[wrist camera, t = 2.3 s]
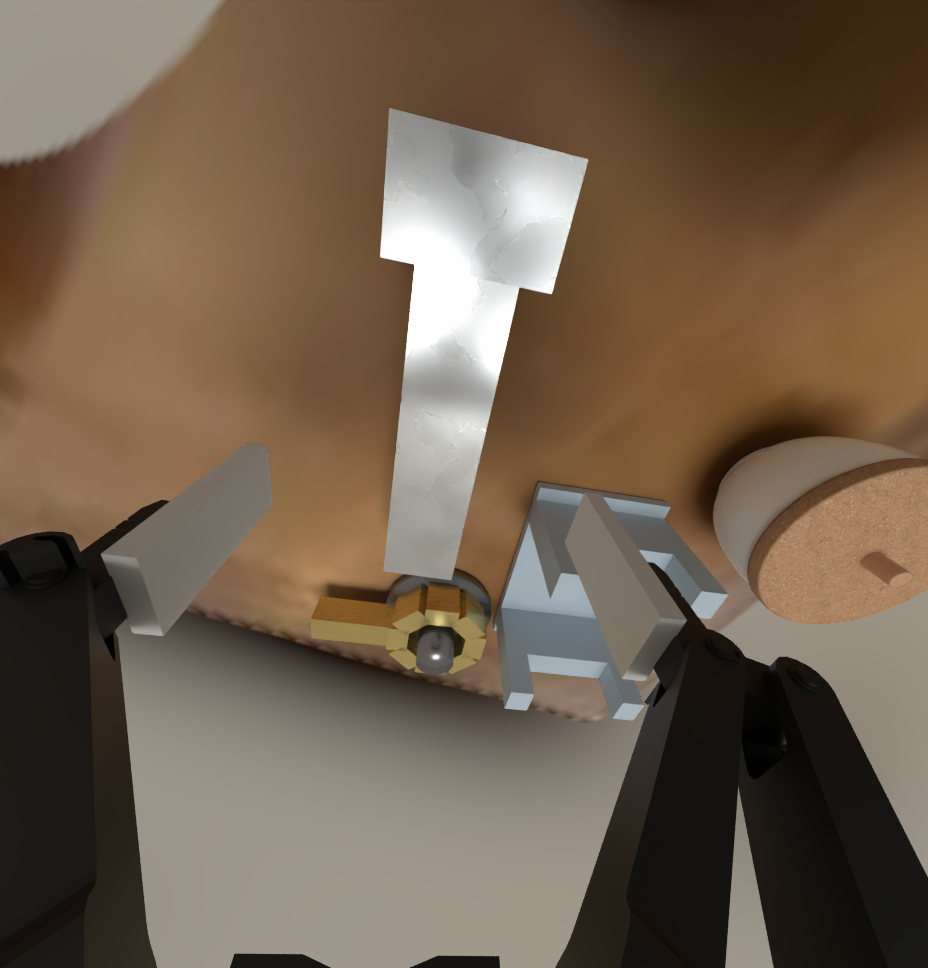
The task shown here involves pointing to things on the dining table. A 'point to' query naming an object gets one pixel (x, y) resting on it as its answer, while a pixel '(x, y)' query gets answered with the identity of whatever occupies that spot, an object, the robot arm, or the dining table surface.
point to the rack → (582, 596)
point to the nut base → (434, 639)
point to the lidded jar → (826, 527)
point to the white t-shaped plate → (460, 307)
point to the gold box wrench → (406, 622)
